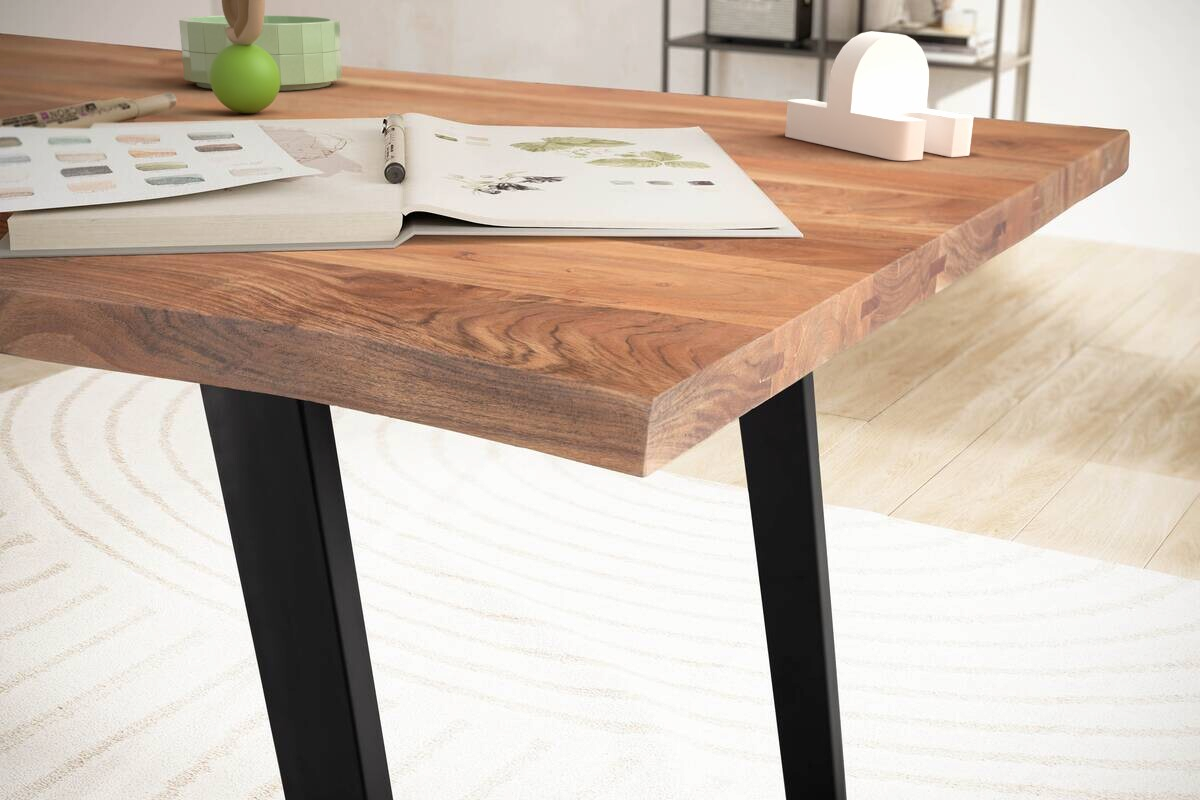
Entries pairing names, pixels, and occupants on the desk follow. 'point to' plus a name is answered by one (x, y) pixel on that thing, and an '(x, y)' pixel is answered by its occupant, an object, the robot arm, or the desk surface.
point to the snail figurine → (244, 61)
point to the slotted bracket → (880, 104)
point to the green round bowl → (269, 48)
